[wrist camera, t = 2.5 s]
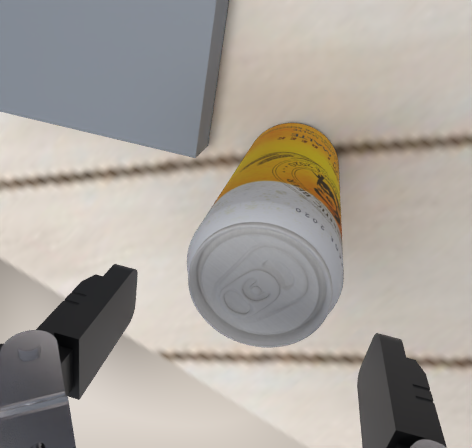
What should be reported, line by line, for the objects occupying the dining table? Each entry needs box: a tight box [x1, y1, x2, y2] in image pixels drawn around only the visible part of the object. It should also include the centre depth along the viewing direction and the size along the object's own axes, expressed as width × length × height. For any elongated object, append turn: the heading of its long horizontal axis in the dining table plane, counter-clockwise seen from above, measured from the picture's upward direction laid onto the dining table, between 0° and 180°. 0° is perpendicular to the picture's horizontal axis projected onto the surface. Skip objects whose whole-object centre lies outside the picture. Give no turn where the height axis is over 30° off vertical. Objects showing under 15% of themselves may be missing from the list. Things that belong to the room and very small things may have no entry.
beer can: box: [187, 123, 344, 347], centre depth 22 cm, size 6×6×15 cm
